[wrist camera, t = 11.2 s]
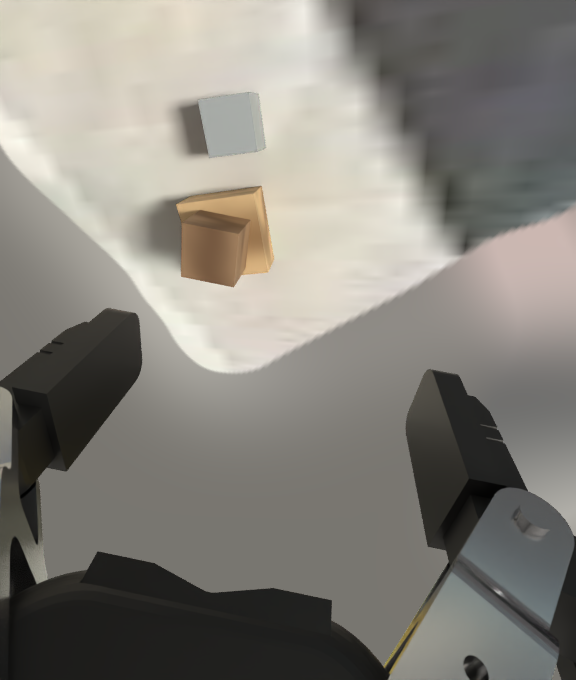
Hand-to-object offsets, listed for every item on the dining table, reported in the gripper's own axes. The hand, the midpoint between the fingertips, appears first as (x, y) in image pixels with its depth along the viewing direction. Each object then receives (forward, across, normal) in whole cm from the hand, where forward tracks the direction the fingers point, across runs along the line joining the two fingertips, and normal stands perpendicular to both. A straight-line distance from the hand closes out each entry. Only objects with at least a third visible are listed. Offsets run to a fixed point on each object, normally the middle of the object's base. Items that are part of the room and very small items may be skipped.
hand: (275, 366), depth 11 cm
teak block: (+28, +8, +5) cm, 30 cm away
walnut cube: (+24, +8, +5) cm, 26 cm away
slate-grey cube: (+28, +8, -4) cm, 30 cm away
